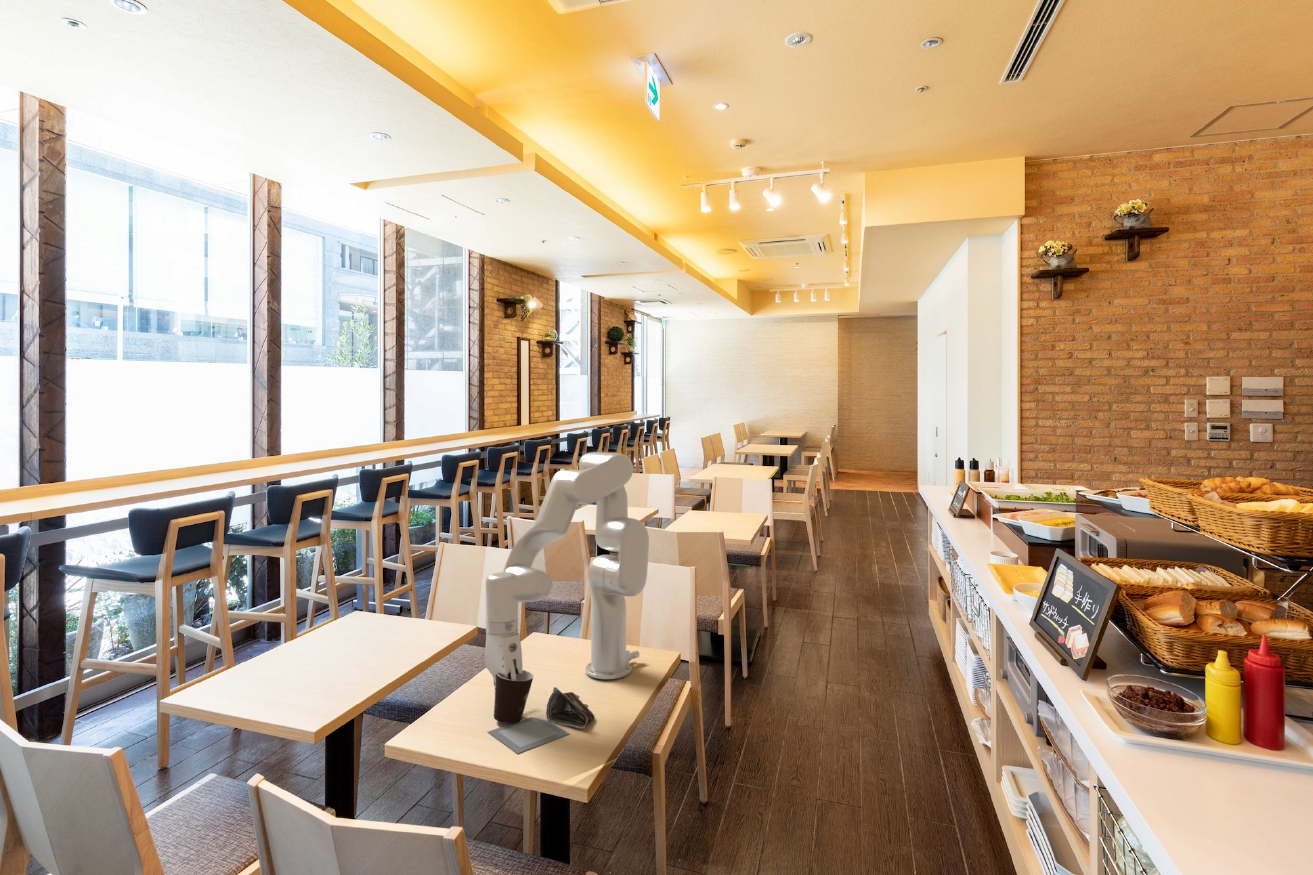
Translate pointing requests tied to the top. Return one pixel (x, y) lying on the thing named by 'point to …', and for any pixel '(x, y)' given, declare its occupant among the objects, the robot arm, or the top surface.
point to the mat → (527, 734)
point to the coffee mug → (511, 697)
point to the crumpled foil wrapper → (567, 702)
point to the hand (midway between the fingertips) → (502, 702)
